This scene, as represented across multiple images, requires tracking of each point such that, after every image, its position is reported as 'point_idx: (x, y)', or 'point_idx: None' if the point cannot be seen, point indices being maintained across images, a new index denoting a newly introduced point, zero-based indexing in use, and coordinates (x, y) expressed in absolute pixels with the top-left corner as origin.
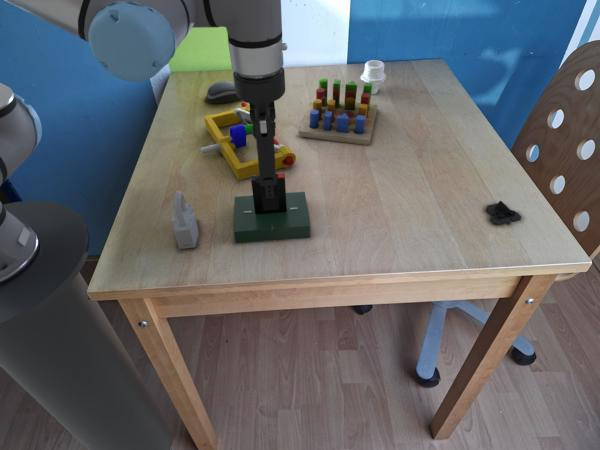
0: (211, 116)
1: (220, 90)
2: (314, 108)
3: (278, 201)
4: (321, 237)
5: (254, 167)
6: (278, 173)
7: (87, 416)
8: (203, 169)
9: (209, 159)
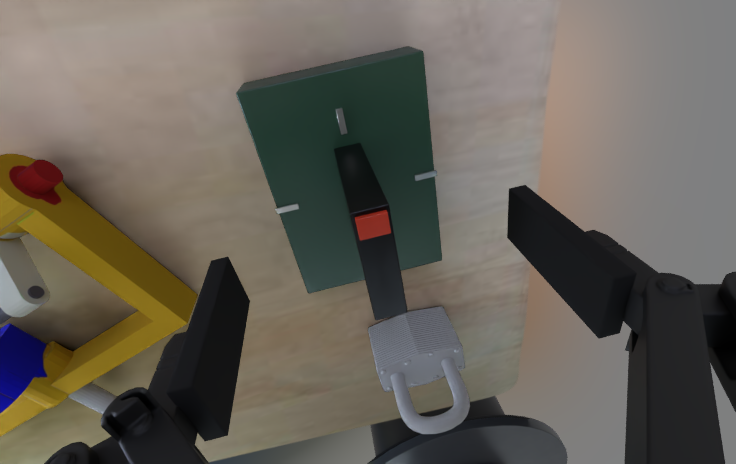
0: None
1: None
2: None
3: (547, 203)
4: (408, 3)
5: (146, 280)
6: (363, 237)
7: None
8: None
9: (126, 376)
